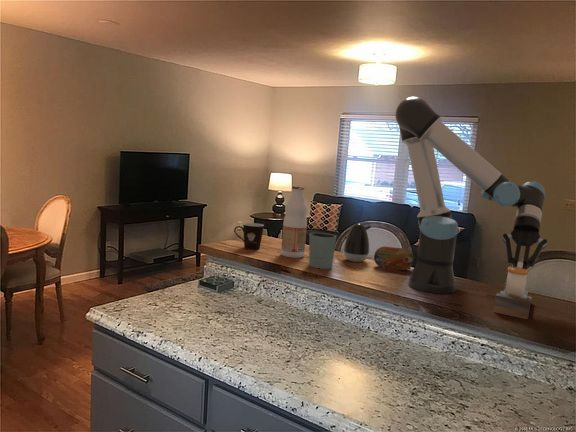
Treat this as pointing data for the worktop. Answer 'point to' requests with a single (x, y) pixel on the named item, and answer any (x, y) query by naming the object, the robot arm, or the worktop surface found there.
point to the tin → (394, 258)
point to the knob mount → (512, 304)
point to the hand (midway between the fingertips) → (517, 282)
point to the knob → (516, 281)
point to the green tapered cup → (321, 250)
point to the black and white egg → (357, 243)
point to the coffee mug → (251, 235)
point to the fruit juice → (295, 224)
